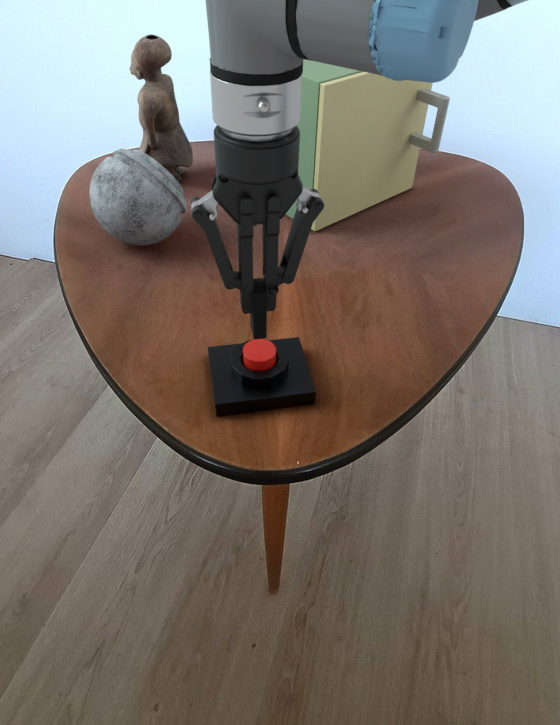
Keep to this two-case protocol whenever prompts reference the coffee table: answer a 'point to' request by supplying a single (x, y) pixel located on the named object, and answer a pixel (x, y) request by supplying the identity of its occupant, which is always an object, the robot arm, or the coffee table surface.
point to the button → (259, 355)
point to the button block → (260, 379)
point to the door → (370, 140)
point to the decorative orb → (136, 198)
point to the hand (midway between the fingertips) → (258, 331)
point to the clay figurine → (159, 107)
